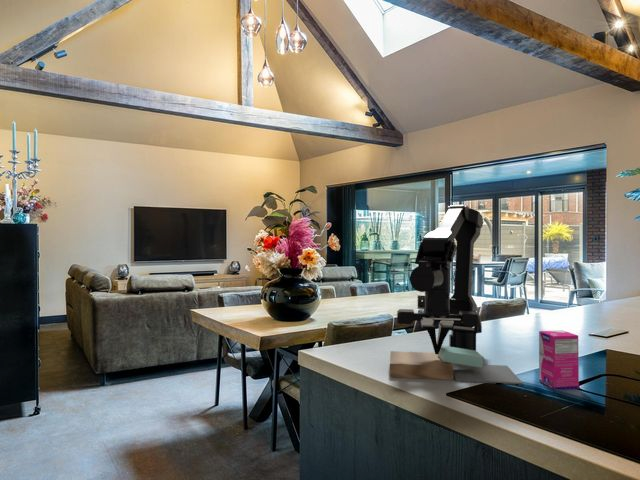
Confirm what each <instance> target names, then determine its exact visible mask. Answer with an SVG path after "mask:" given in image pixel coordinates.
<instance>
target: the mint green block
mask: <svg viewBox="0 0 640 480" xmlns="http://www.w3.org/2000/svg"><path fill="white" fill-rule="evenodd" d="M437 355H438V356H439V357H440V358H441V360H442V361H443V362H449V363H456V364H462V365H468V366H475V367H481V368H482V365H484V364H483V363H484V357H483V355H482V354H481V353H480V352H478V351H477V350H476V351H475V350H468V349H462V348H455V347H449V345H443V344H442V346H441V349H440V352H439V354H437Z"/></svg>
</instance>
